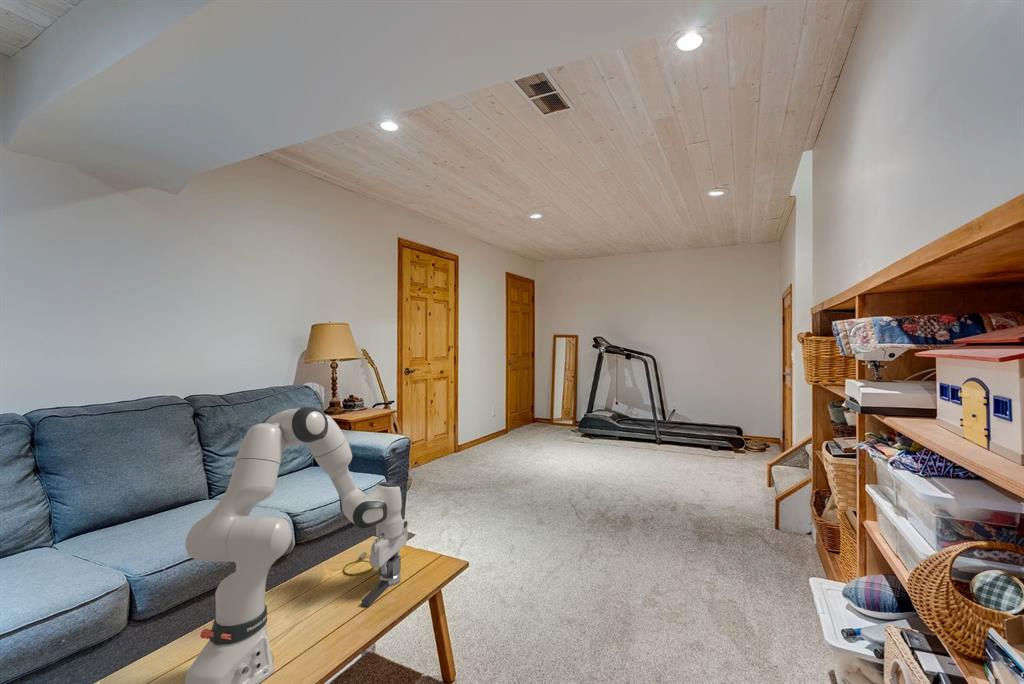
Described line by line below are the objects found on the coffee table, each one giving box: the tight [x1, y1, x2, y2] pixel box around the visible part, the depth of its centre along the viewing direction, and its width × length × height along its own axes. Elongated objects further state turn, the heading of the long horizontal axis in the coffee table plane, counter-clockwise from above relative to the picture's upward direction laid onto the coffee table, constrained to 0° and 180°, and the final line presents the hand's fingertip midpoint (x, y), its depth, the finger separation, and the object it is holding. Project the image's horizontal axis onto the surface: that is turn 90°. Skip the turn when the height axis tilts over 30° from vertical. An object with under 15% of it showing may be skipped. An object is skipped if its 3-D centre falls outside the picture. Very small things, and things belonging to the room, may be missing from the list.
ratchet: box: [361, 570, 401, 608], centre depth 156 cm, size 20×7×6 cm, turn 166°
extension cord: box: [342, 551, 376, 577], centre depth 174 cm, size 12×16×2 cm
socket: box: [377, 554, 402, 577], centre depth 162 cm, size 6×6×5 cm
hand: (389, 568), depth 162 cm, fingers closed on socket, 6 cm apart
